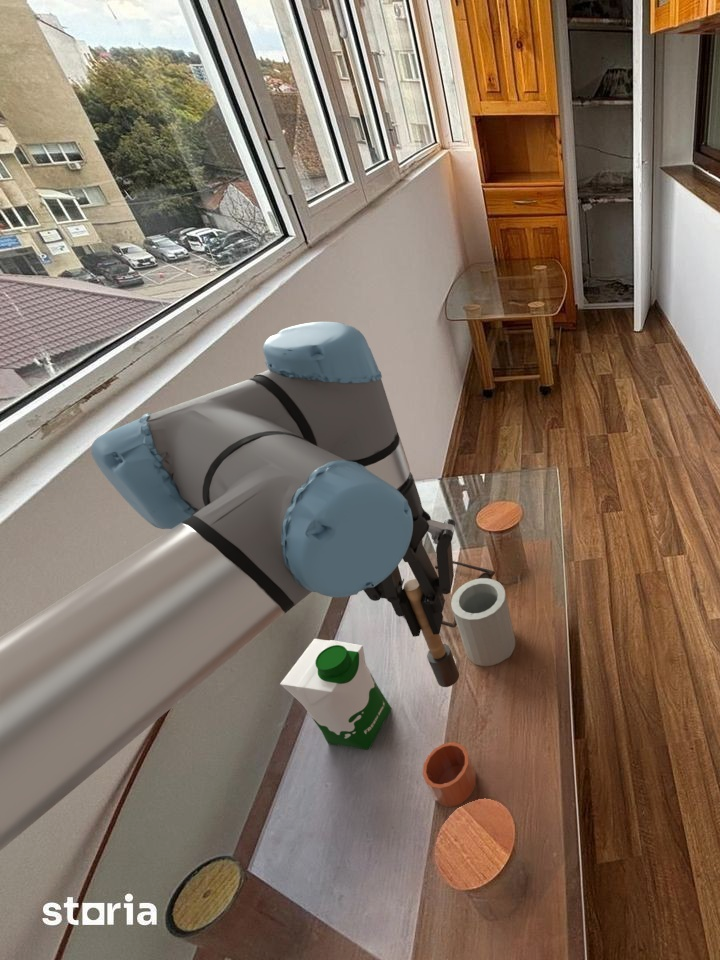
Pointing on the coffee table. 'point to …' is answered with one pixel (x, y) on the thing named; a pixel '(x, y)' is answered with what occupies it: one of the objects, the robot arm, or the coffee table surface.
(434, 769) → the holder
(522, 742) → the coffee table surface
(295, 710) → the coffee table surface
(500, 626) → the cup
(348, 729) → the milk carton
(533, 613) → the coffee table surface
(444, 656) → the brush
